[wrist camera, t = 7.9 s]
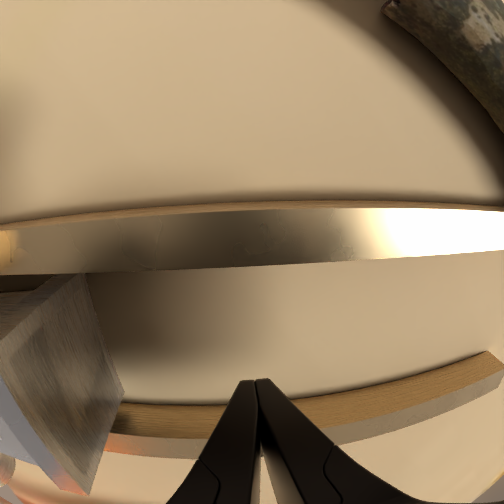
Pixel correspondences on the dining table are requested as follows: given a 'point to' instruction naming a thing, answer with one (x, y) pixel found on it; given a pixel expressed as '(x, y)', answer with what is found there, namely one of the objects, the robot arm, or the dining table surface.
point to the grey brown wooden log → (461, 42)
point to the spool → (56, 381)
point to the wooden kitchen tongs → (259, 254)
